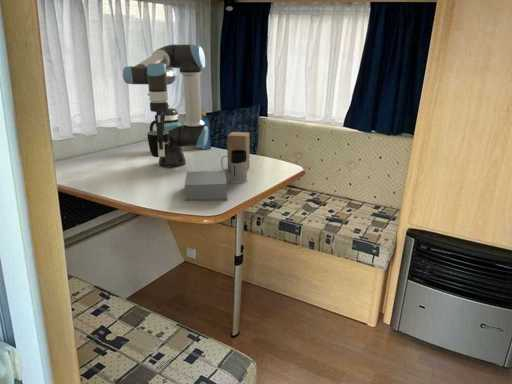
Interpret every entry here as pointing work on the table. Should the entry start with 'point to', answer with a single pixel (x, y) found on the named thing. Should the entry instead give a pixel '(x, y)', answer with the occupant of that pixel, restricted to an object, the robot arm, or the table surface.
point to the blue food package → (207, 124)
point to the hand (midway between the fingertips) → (162, 153)
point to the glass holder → (238, 166)
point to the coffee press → (167, 117)
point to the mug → (154, 145)
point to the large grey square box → (205, 186)
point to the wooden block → (238, 145)
